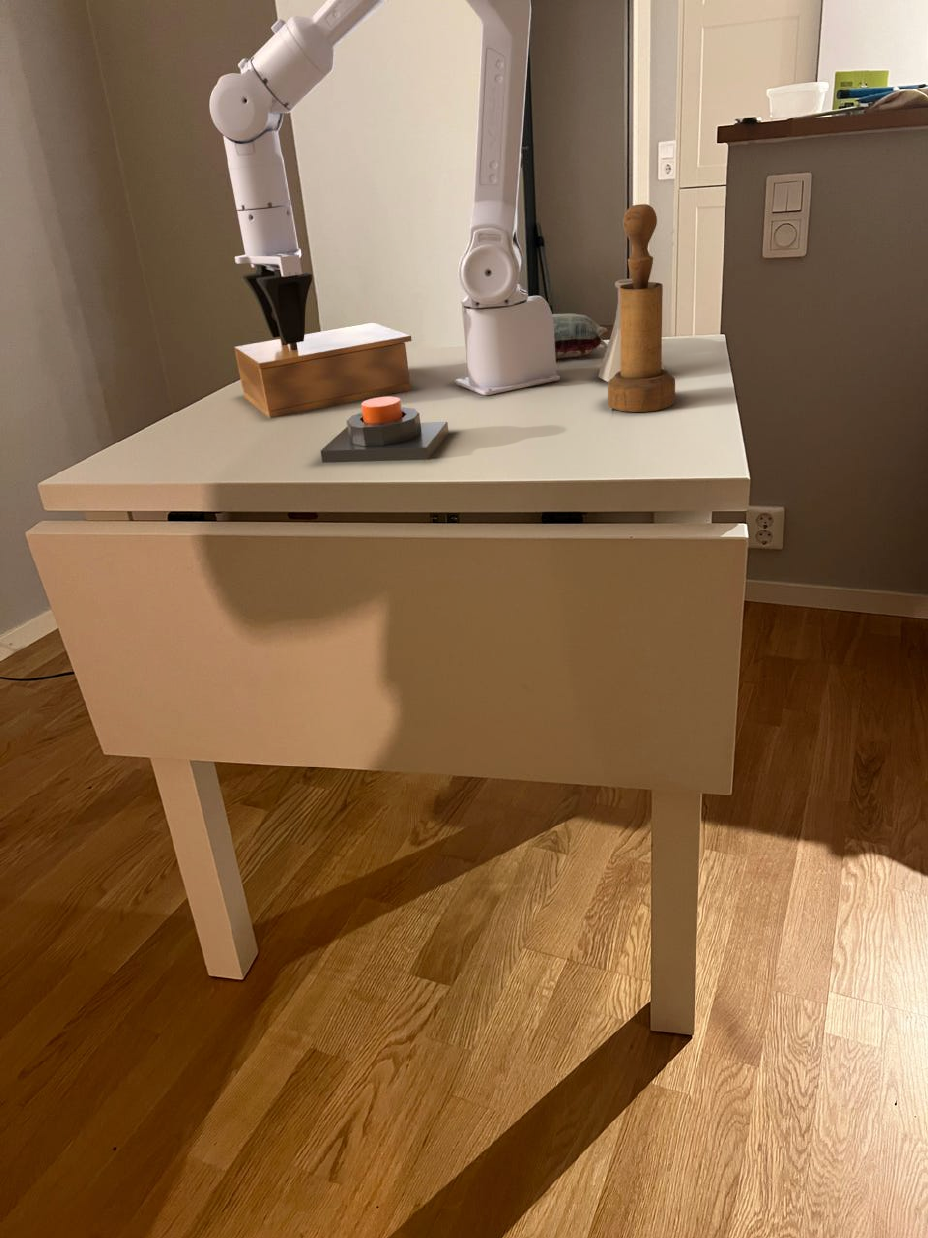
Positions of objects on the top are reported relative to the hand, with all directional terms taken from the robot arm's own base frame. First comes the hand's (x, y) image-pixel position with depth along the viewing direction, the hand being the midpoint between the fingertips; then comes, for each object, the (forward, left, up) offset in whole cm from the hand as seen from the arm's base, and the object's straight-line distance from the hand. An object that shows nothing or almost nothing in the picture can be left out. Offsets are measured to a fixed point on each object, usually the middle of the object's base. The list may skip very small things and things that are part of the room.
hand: (287, 339), depth 104 cm
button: (-1, +26, -4) cm, 26 cm away
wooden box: (-3, 0, -7) cm, 8 cm away
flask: (-32, +20, -7) cm, 39 cm away
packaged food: (-32, +4, -7) cm, 33 cm away
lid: (-4, 0, -1) cm, 4 cm away
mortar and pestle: (-27, +30, -7) cm, 41 cm away
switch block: (-1, +26, -7) cm, 27 cm away
